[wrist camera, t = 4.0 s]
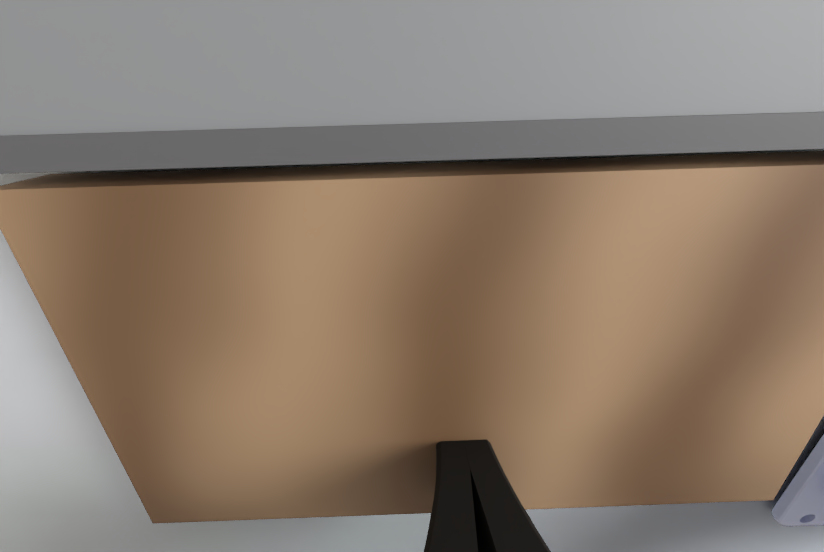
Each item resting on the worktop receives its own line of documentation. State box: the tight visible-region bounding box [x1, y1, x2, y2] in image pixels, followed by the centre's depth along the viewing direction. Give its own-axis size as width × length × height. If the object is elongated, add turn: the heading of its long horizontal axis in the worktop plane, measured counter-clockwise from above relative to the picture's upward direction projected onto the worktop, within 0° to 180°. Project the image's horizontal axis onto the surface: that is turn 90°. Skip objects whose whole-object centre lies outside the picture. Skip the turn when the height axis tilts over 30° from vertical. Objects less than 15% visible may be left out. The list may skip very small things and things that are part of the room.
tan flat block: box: [0, 151, 824, 523], centre depth 10 cm, size 18×10×2 cm, turn 91°
